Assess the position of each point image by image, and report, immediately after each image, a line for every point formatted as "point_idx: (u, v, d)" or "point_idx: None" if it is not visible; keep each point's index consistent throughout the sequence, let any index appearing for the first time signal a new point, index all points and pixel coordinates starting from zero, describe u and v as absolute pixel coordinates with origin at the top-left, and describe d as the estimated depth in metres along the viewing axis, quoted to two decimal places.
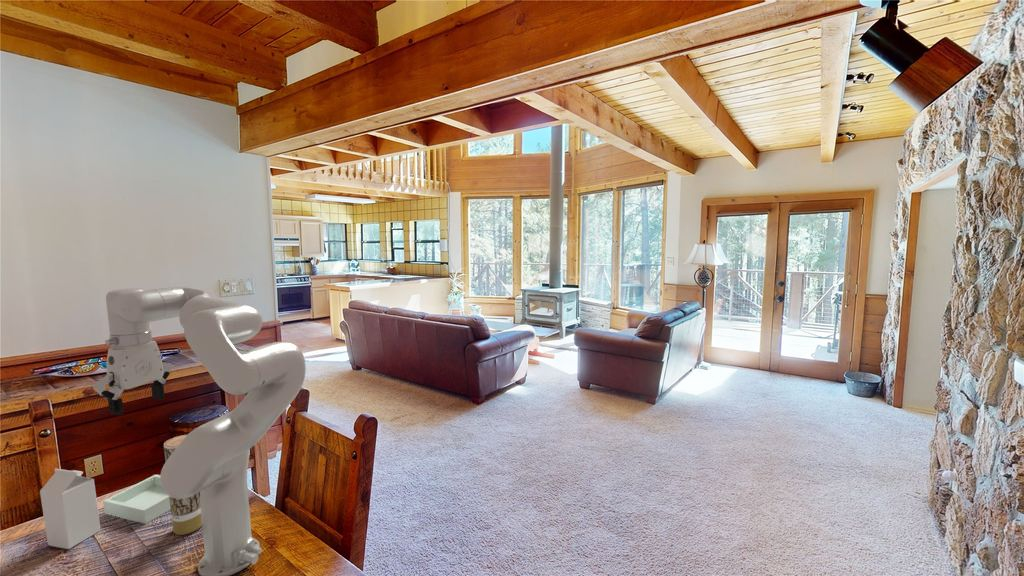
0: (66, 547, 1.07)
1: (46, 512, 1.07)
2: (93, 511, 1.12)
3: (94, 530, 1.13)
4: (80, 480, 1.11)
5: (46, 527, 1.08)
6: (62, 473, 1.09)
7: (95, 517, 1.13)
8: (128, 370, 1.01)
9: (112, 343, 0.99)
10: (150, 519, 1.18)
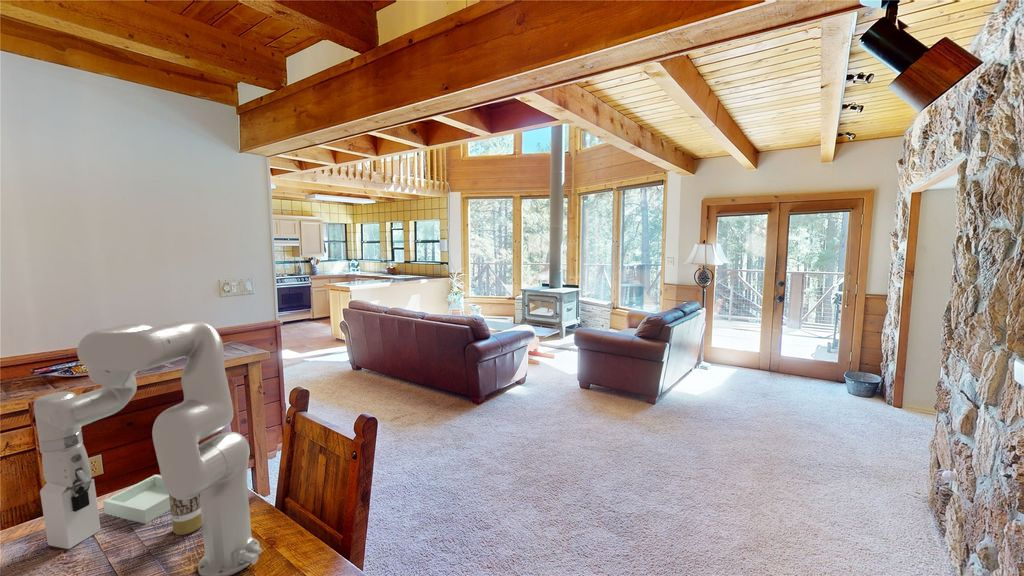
0: (66, 547, 1.07)
1: (46, 511, 1.07)
2: (93, 511, 1.12)
3: (94, 530, 1.13)
4: None
5: (46, 527, 1.08)
6: None
7: (95, 517, 1.13)
8: None
9: None
10: (150, 519, 1.18)
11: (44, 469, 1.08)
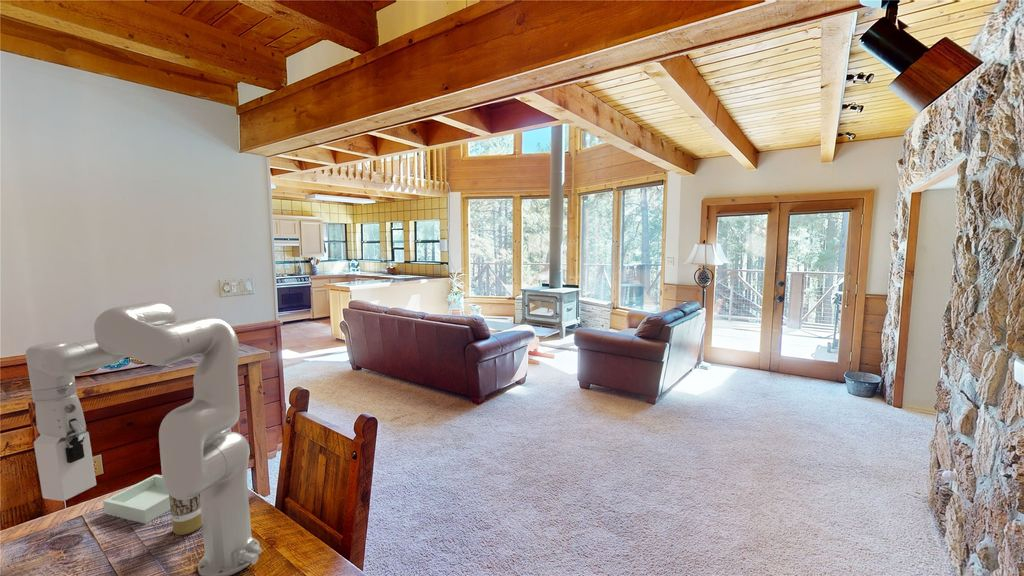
0: (61, 499, 1.06)
1: (40, 463, 1.06)
2: (89, 465, 1.11)
3: (90, 484, 1.11)
4: None
5: (41, 479, 1.06)
6: None
7: (90, 471, 1.11)
8: None
9: None
10: (150, 519, 1.18)
11: (37, 421, 1.06)
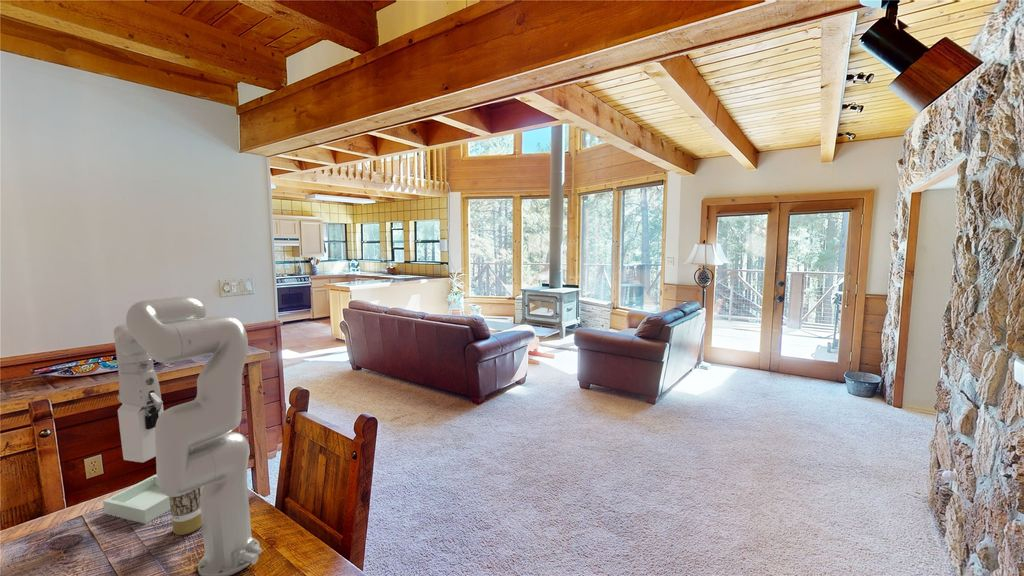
0: (140, 461, 1.20)
1: (122, 429, 1.20)
2: None
3: None
4: None
5: (122, 443, 1.21)
6: None
7: None
8: None
9: None
10: (150, 519, 1.18)
11: (120, 391, 1.20)
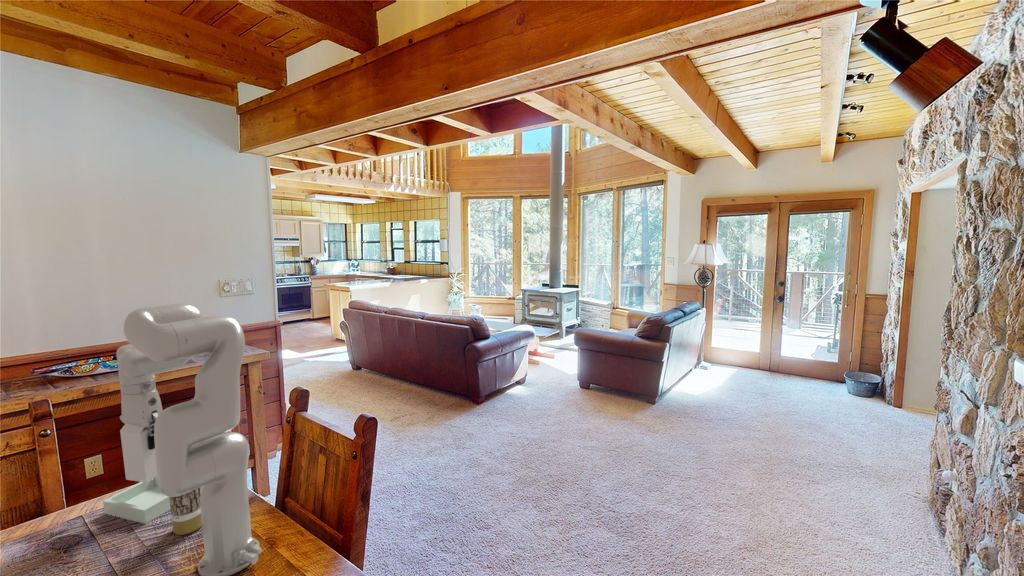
0: (143, 480, 1.21)
1: (125, 449, 1.21)
2: None
3: None
4: None
5: (125, 463, 1.21)
6: None
7: None
8: None
9: None
10: (150, 519, 1.18)
11: (123, 412, 1.21)
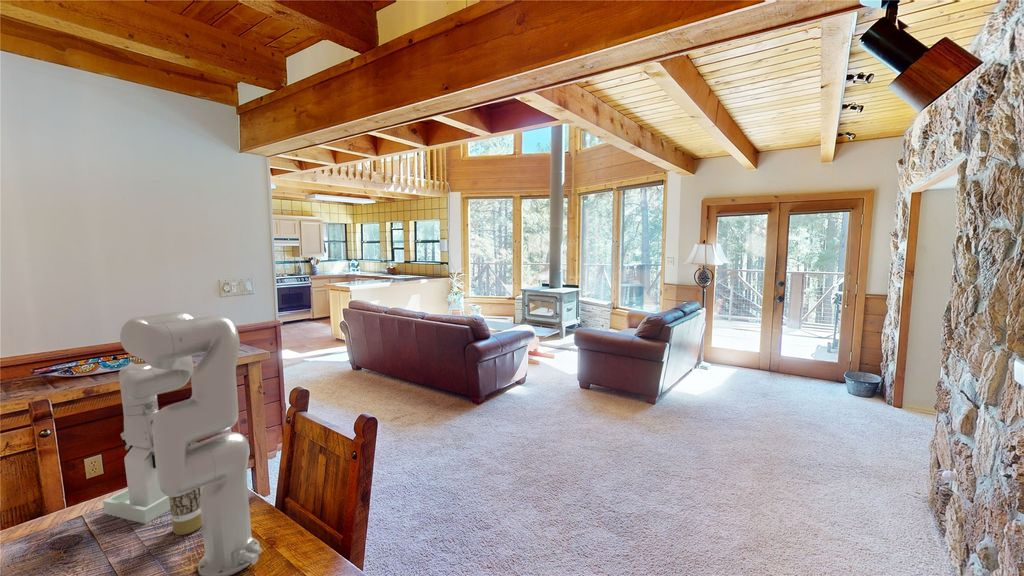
0: None
1: (129, 476, 1.21)
2: None
3: None
4: None
5: (129, 490, 1.22)
6: None
7: None
8: None
9: None
10: (150, 519, 1.18)
11: (125, 432, 1.22)
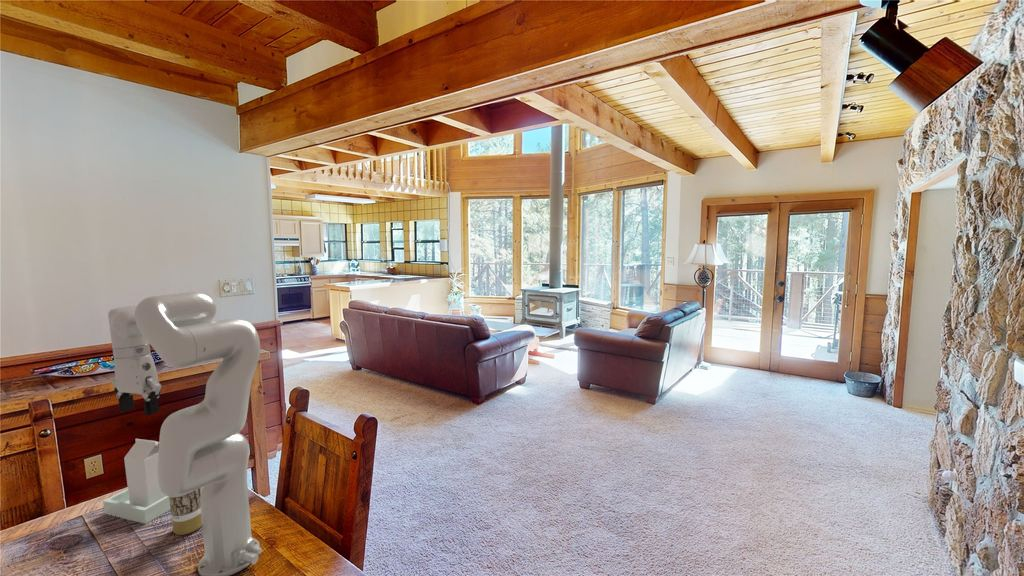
0: None
1: (129, 476, 1.21)
2: None
3: None
4: (157, 449, 1.25)
5: (129, 490, 1.22)
6: (142, 442, 1.23)
7: None
8: None
9: None
10: (150, 519, 1.18)
11: (116, 378, 1.16)
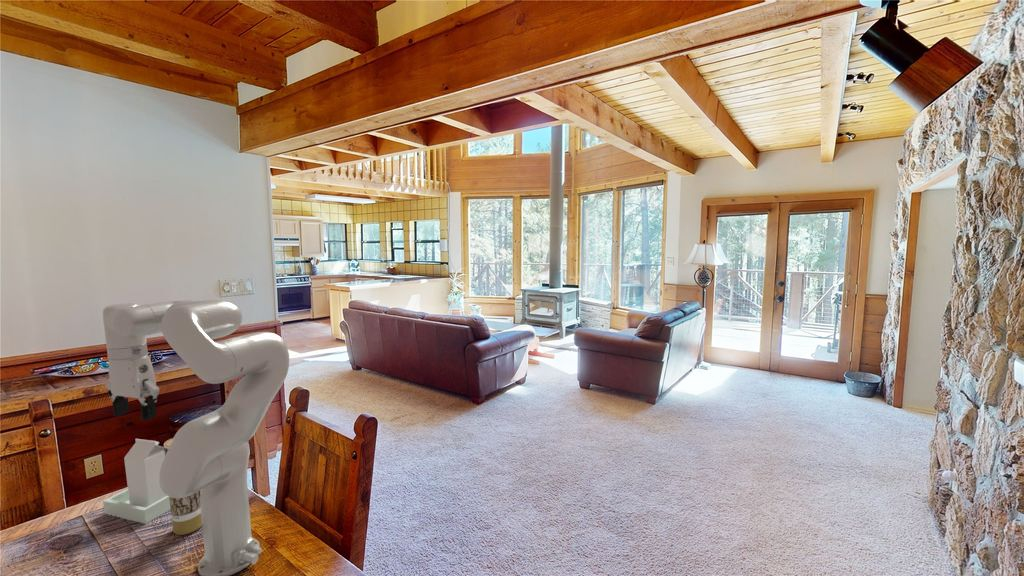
0: None
1: (129, 476, 1.21)
2: None
3: None
4: (157, 449, 1.25)
5: (129, 490, 1.22)
6: (142, 442, 1.23)
7: None
8: None
9: None
10: (150, 519, 1.18)
11: (110, 380, 1.08)
